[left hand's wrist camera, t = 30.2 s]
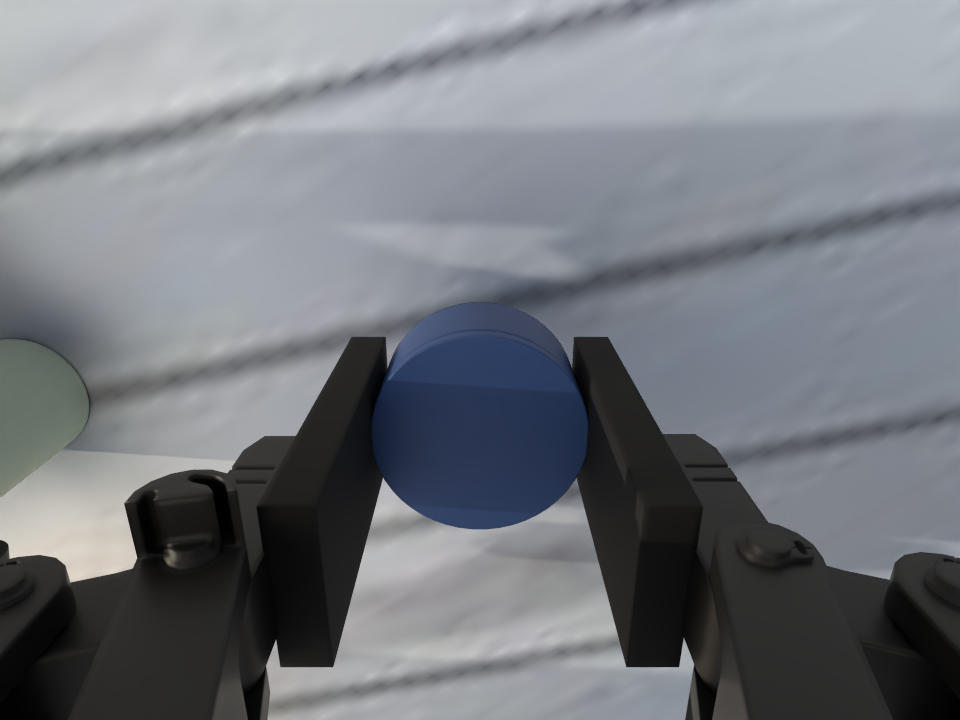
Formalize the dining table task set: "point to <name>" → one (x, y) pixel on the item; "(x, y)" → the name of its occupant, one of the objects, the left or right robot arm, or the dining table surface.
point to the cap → (479, 418)
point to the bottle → (36, 408)
